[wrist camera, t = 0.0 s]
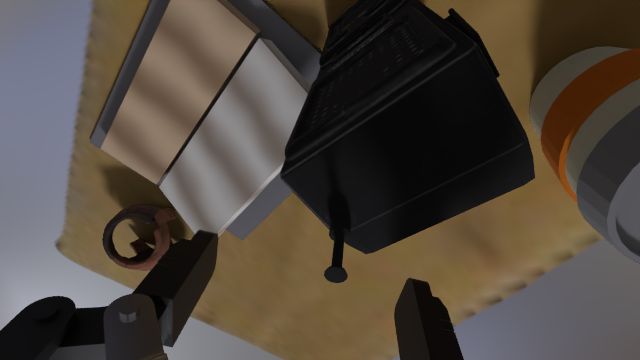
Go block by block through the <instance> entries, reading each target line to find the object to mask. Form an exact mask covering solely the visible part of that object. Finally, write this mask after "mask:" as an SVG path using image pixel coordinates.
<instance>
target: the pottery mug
mask: <svg viewBox="0 0 640 360" xmlns="http://www.w3.org/2000/svg"><path fill="white" fill-rule="evenodd" d="M176 217H177V214H176V213H175V211H174V210H173V209H172V208H170V207H168V208H167V207H165V208H161V207H160V206H156V205H145V204H140V205H132V206H130V207H129V209H126V208H125V209H123V210H122V211H120V212H119V213H118V214H117V215H116V216H115V217H114V218H113V219H112V220H110V222H109V223H108V224H107V226H106V228H105V229H104V233H103V239H102V240H103V246H104V249H105V251H106V253H107V255H108V256H109V258H110V259H112V260H113V261H114V262H115V263H116V264H118V265H119V266H122V267H124V268H128V269H136V270H143V271H147V270H152V268H153V267H154V266H155V265H156V264H157V263H158V261H159V260H160V259H161V257H163V256H164V254H165V253H166V251H167V250H168V249H169V245H170V232H169V227H168V224H167V222H169V221H170V220H171V219H176ZM125 219H138V220H141V221H143V222H145V223H146V224H149V223H150V222H151V221H154V222H155V224H156V225H157V227H158V228H157V229H156V230H155V231H154V236H155V248H154V249H153V248H151V247H150V246H148V245H147V244H146V243H145V242H144V241H143V240H142V239H141V238H139V239H138V240H136V241H134V242H131V243H130V246H131V247H132V248H133V250H134V251H135V253H136V254H137V255H136V256H134V257H131V258H126V257H122V256H121V255H119V254H118V252H117V251H116V249H115V246H114V244H113V240H112V235H113V231H114V229H115V227H116V226H117V224H118V223H120V222H121V221H123V220H125Z"/></svg>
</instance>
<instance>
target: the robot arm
mask: <svg viewBox="0 0 640 360" xmlns="http://www.w3.org/2000/svg"><path fill="white" fill-rule="evenodd" d="M217 246H218V234H217V233H213V232H209V231H204V230H198V231H197V232H196V234H195V235H194V236H193V238H192V239H191V240H186V239H182V240H180V241H178V242H176V243H175V244H173V245H171V246H170V248H169V249H168V250H167V251H166V253H165V254H164V256H163V257H161V259H160V260H159V261H158V263H157V264H156V265H155V266H154V267H153V268H152V270H151V271H150V272H149V273H148V275H147V276H146V277H145V278H144V280H143V281H142V282H141V283H140V284H139V286H138V287H137V288H136V289H135V291H134V292H133V293H132V294H129V295H125V296H122V297H120V298H118V299H116V300H115V301H113V302H112V303H111V304H110V305H109V306H106V307H95V308H77V309H76V307H75V304H74V302H73V301H72V300H71V299H69V298H67V297H63V296H53V297H47V298H44V299H41V300H38V301H36V302H34V303H32V304H30V305H29V306H27V307H25V308H24V309H23V310H22V311H21V312H20V313H19V314H18V315H17V316H15V318H14V319H12V320H11V321H10V322H9V323H8V324H7V325H6V326H5V327H4V328H3V329H2V330H1V331H0V360H168V357H167V354H166V353H164V350H163V345H165V346H169V347H173V345H174V343H175V341H176V340H177V338H178V336H179V334H180V333H181V331H182V329H183V327H184V325H185V324H186V322H187V320H188V318H189V317H190V315H191V313H192V311H193V309H194V308H195V306H196V304H197V302H198V300H199V299H200V297H201V295H202V293H203V291H204V290H205V288H206V286H207V284H208V282H209V281H210V279H211V277H212V275H213V272H214V269H215V265H216V258H217ZM394 319H395V327H396V334H397V340H398V347H399V354H400V360H464V359H463V356H462V353H461V350H460V347H459V344H458V341H457V338H456V335H455V333H454V329H453V326H452V323H451V320H450V317H449V314H448V311H447V308H446V307H445V306H444V304H443V303H442V302H441V300H440V299H439V298H438V297H433V296H432V293H431V290H430V286H429V284H428V282H425V281H421V280H416V279H412V278H408V279H407V281H406V283H405V285H404V288H403V290H402V292H401V294H400V297H399V299H398V301H397V303H396V307H395V313H394Z"/></svg>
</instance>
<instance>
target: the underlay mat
mask: <svg viewBox="0 0 640 360" xmlns="http://www.w3.org/2000/svg"><path fill="white" fill-rule="evenodd" d="M227 1H228V2H230V3H231V4H232V5H233V6H234V7H235V8H236V9H237V10H239V11H240V12H241V13H242V14H243V15H244V16H245V17H247V18H248V19H249V20H250V21H251V22H252V23H253V24H255V25H256V26H257V27H258V28H259V29H260V30H261V32H260V33H259V35H258V36H257V38H256V39H255V41H254V42H253V44H252V45H251V47H250V48H249V50H248V51H247V53H246V54H245V56H244V57H243V59H242V60H241V62H240V63H239V65H238V66H237V68H236V69H235V71H234V72H233V74H232V75H231V77H230V78H229V80H228V81H227V83H226V84H225V86H224V87H223V89H222V90H221V92H220V93H219V95H218V96H217V98H216V99H215V101H214V102H213V104H212V105H211V107H210V108H209V110H208V111H207V113H206V114H205V116H204V117H203V119H202V120H201V122H200V123H199V125H198V126H197V128H196V129H195V131H194V132H193V134H192V135H191V137H190V138H189V140H188V141H187V143H186V144H185V146H184V147H183V149H182V150H181V152H180V153H179V155H178V156H177V158H176V159H175V161H174V162H173V164H172V165H171V167H170V168H169V170H168V171H167V173H166V174H165V176H164V177H163V178H162V179H161V180H160V181H159V182H158V183H157V184H156V185H157V186H160V185H161V183H162V182H163V180H164V179H165V178H166V176H167V175H168V173H169V172H170V170H171V169H172V167H173V166H174V164H175V163H176V161H177V160H178V158H179V157H180V155H181V154H182V152H183V151H184V149H185V148H186V146H187V145H188V143H189V142H190V140H191V139H192V137H193V136H194V134H195V133H196V131H197V130H198V128H199V127H200V125H201V124H202V122H203V121H204V119H205V118H206V116H207V115H208V114H209V112H210V111H211V109H212V108H213V106H214V105H215V103H216V102H217V100H218V99H219V97H220V96H221V94H222V93H223V91H224V90H225V88H226V87H227V85H228V84H229V82H230V81H231V79H232V78H233V76H234V75H235V73H236V72H237V70H238V69H239V67H240V66H241V64H242V63H243V61H244V60H245V58H246V57H247V55H248V54H249V52H250V51H251V50H252V48H253V47H254V45H255V44H256V42H257V41H258V39H259V38H262V39H267V40H271V41H272V42H273V43H274V44H275V45H276V47H277V48H278V49H279V50H280V51H281V52H282V54H283V55H284V56H285V57H286V58H287V59H288V60H289V62H290V63H291V64H292V65H293V66H294V67H295V69H296V70H297V71H298V72H299V73H300V74H301V75H302V77H303V78H304V79H305V80H306V81H307V82H308V83H309V85H310V86H312V83H313V82H314V81H315V80H316V78H317V76H318V73H319V70H320V64H319V59H320V56H321V53H320V52H319V51H318V50H317V49H315V48H314V47H313V46H312V45H311V44H310V43H309V42H308V41H307V40H306V39H305V38H303V37H302V36H301V35H300V34H299V33H298V32H297V31H296V30H295V29H294V28H292V27H291V26H290V25H289V24H288V23H287V22H286V21H285V20H284V19H283V18H281V17H280V16H279V15H278V14H277V13H276V12H275V11H274V10H273V9H272V8H271V7H269V6H268V5H267V4H266V3H265V2H264V1H263V0H227ZM169 3H170V0H152V1H151V4H150V6H149V8H148V11H147V13H146V15H145V17H144V20H143V22H142V24H141V26H140V29H139V31H138V33H137V36H136V38H135V40H134V42H133V45H132V47H131V49H130V51H129V54H128V56H127V58H126V61H125V63H124V65H123V67H122V70H121V72H120V74H119V76H118V79H117V81H116V83H115V86H114V88H113V90H112V92H111V95H110V97H109V99H108V101H107V104H106V106H105V108H104V110H103V113H102V115H101V117H100V120H99V122H98V124H97V126H96V129H95V131H94V133H93V135H92V138H91V140H90V143H92V144H93V145H95V146H96V147H98V148H99V149H101V146H102V144H103V142H104V140H105V138H106V136H107V134H108V132H109V129H110V127H111V125H112V123H113V121H114V119H115V117H116V115H117V113H118V110H119V108H120V106H121V104H122V102H123V100H124V98H125V96H126V94H127V91H128V89H129V87H130V85H131V83H132V81H133V79H134V77H135V74H136V72H137V70H138V68H139V66H140V64H141V62H142V60H143V58H144V55H145V53H146V51H147V49H148V47H149V45H150V43H151V41H152V39H153V36H154V34H155V32H156V30H157V28H158V26H159V24H160V22H161V19H162V17H163V15H164V13H165V11H166V9H167V7H168V5H169ZM102 151H103V150H102ZM104 152H105V151H104ZM107 154H108V153H107ZM110 156H111V155H110ZM113 158H114V157H113ZM115 159H116V158H115ZM118 161H119V160H118ZM121 163H122V162H121ZM124 165H125V164H124ZM127 167H128V166H127ZM129 168H130V167H129ZM132 170H133V169H132ZM135 172H136V171H135ZM280 172H281V171H280ZM280 172H279V174H278V175H277V176H276V177H275V178H274V179H273V180H272V181H271V182H270V183H269V184H268V185H267V186H266V187H265V188H264V189H263V190H262V191H261V192H260V194H259V195H258V196H257V197H256V198H255V199H254V200H253V201H252V202H251V203H250V204H249V205H248V206H247V207H246V208H245V209H244V210H243V211H242V213H241V214H240V215H239V216H238V217H237V218H236V219H235V220H234V221H233V222H232V223H231V224H230V225H229V226H228V227H227V228H226V230H227V231H229V232H231V233H232V234H234V235H235V236H237V237H238V238H240V239H242V240H243V239H244V238H245V237H246V236H248V235H249V234H250V233H251V232H252V231H253V230H254V229H255V228H256V227H257V226H258V225H259V224H260V223H261V222H262V221H263V220H264V219H265V218H266V217H267V216H268V215H269V214H270V213H271V212H272V211H273V210H274V209H275V208H276V207H277V206H278V205H279V204H280V203H282V202H283V201H284V200H285V199H286V198H287V197H288V196H289V195H290V194H291V193H292V192H293V191H292V190H291V189H290V188H289V187H288V186H287V185H286V184H285V183H284V182H283V181H282V180H281V177H280ZM138 174H139V173H138ZM140 175H141V174H140ZM143 177H144V176H143ZM146 179H147V178H146ZM149 181H150V180H149ZM152 183H153V182H152ZM154 184H155V183H154Z"/></svg>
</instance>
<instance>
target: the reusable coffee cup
mask: <svg viewBox="0 0 640 360" xmlns="http://www.w3.org/2000/svg"><path fill="white" fill-rule="evenodd" d="M529 115H530V120H531V123H532V125H533V127H534V129H535V130H536V132H537V133H538V135H539V137H540V138H541V145H542V150H543V153H544V155H545V156H546V158H547V160H548V162H549V164H550V165H551V167H552V169H553V170H554V172H555V174H556V176H557V177H558V179H559V181H560V182H561V184H562V186H563V187H564V189H565V191H566V192H567V193H568V194H569V195H570V196H571V197H572V198H573V199H574V200H575V201H576V202H577V203H578V207H579V210H580V212H581V214H582V216H583V218H584V219H585V220H586V221H587V222H588V223H589V224H590V225H591V226H592V227H593V228H594V229H595V230H596V231H597V232H598V233H599V234H601V235H602V236H603V237H604V238H605V239H606V240H607V241H608V242H610V243H611V244H612V245H613V246H614V247H615V248H616V249H617V250H618V251H620V252H621V253H622V254H623V255H624V256H626V257H628V258H629V259H631V260H633V261H635V262H636V263H639V264H640V48H636V49H628V48H619V47H610V46H604V47H594V48H590V49H586V50H583V51H580V52H578V53H575V54H573V55H571V56H569V57H568V58H566V59H564V60H562V61H561V62H560V63H558V64H557V65H556V66H554V67H553V68H552V69H551V70H550V71H549V72H548V73H547V74H546V75H545V76H544V77H543V78H542V80H541V81H540V82H539V84H538V85H537V87H536V89H535V91H534V93H533V95H532V98H531V101H530V106H529Z"/></svg>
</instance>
